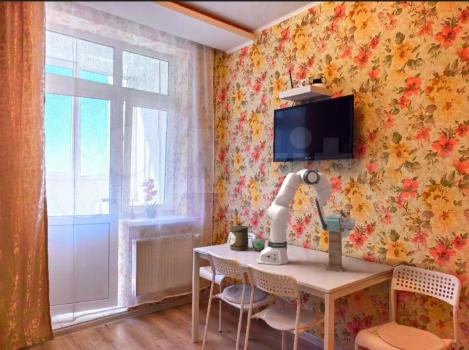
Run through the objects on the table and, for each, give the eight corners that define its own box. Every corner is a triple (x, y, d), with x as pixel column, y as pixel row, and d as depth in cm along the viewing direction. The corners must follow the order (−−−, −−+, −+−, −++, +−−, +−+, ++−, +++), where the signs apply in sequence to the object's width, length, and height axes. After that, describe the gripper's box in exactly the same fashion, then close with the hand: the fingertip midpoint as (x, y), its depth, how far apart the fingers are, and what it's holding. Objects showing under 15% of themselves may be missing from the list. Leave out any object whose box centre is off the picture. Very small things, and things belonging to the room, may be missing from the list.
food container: (253, 252, 256) (253, 239, 256) (251, 251, 262) (250, 238, 262) (268, 251, 259) (268, 238, 259) (265, 250, 265) (265, 237, 265)
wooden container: (229, 247, 276) (229, 221, 276) (247, 246, 277) (246, 220, 277) (231, 251, 261) (230, 223, 261) (249, 250, 262) (249, 223, 262)
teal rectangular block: (333, 218, 222) (333, 208, 220) (344, 218, 219) (344, 208, 217) (327, 230, 205) (326, 220, 203) (338, 231, 202) (338, 221, 200)
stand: (328, 267, 214) (328, 227, 215) (344, 269, 210) (344, 228, 210) (326, 269, 208) (326, 228, 208) (342, 271, 204) (342, 229, 204)
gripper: (326, 219, 234) (322, 211, 223) (357, 221, 224) (354, 213, 213) (325, 228, 231) (321, 220, 220) (356, 230, 221) (353, 222, 211)
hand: (337, 216), depth 217 cm, fingers closed on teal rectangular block, 3 cm apart
